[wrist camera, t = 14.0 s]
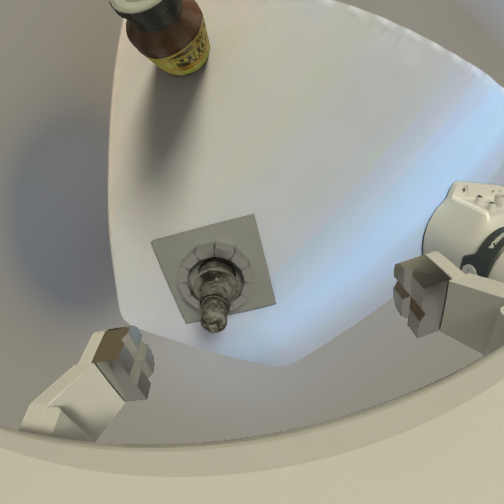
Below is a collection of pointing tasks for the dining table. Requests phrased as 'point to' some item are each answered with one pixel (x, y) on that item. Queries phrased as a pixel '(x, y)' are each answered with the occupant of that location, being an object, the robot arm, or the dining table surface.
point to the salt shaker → (215, 292)
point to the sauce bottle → (167, 32)
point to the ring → (222, 252)
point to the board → (229, 232)
